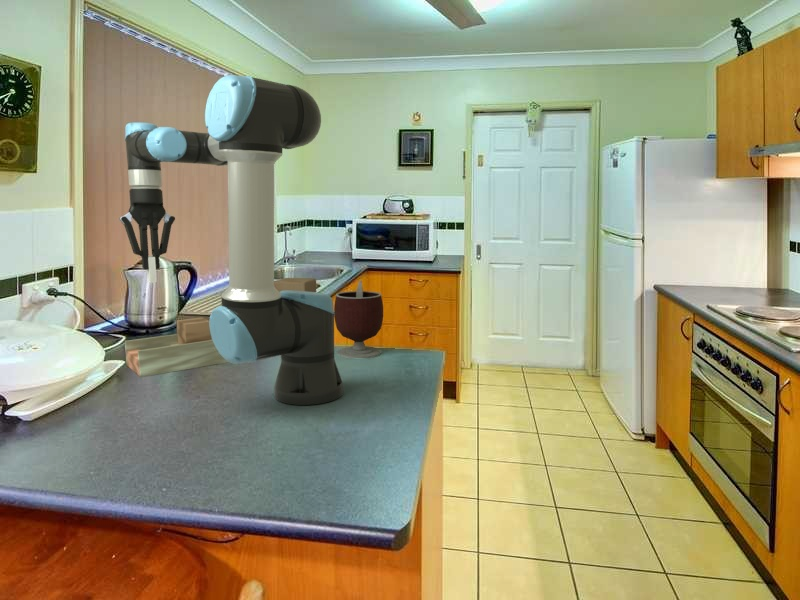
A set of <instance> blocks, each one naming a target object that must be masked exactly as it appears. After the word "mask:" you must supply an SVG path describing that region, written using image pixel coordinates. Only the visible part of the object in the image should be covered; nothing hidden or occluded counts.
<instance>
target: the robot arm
mask: <svg viewBox="0 0 800 600" xmlns="http://www.w3.org/2000/svg"><path fill="white" fill-rule="evenodd" d="M204 123H205V127H206V129H207V132H197V131H196V132H195V131H188V130H181V129H180V130H179V129H177V128H174V127H171V126H159V127H158V126H157V125H156V124H155V123H152V122H151V123H150V122H140V121H139V122H138V121H137V122H136V121H135V122H129V123H127V124H126V125H125V131H124V133H125V135H124V141H125V148H126V150H125V151H126V161H127V171H128V172H127V173H128V185H129V187H131V188H130V189H129V204H130V206H129V209H128V212H127V213H126V214H124V215H123V216H120V217H119V221H120V222H121V224H122V225H123V226H124V228H125V232H126V235H127V238H128V241H129V244H130V246H131V249H132V252H133V254H134V255H135V256H136V255H137V256H140V257H141V266H142V270H145V271H146V276H147V278H146V279H147V280H146V281H147V282H146V283H149V284H155V283H157V270H160V267H161V265H160V263H161V262H160V256H161V255H165V254H167V251H168V246H169V241H170V235H171V230H172V229H171V228H172V226H173V223H174V222H175V221H176V217H175V216H173V215H170V214H168V213H167V212H166V209H165V207H164V198H163V197H164V196H163V195H164V194H163V190H162V189H161V187H162V186H163V182H162V166H161V163H177V164H178V163H180V164H200V165H211V166H212V165H213V166H217V167H221V166H222V167H223V166H227V197H228V198H227V207H228V208H227V211H228V212H227V215H228V219H227V220H228V221H227V222H228V276H229V277H228V283H229V284H228V287H227V288H226V290H224V291H223V292H222V293H221V305H219V306H217V307H215V308H213V309H212V311H211V314H210V316H209V319H208V320H209V326H210V333H211V337H212V340H213V343H214V345H215V347H216V348H217V350H218V352H219V353H220V355H221V356H222V357H223V358H224V359H225V360H227V361H228V362H227V363H231V364H234V365H240V364H245V363H249V364H251V363H255V362H257V361H261V360H265V359H269V358H275V357H278V356H280V364H279V365H280V366H279V368H278V372H277V375H276V378H275V382H274V385H273V397H274V398H275V399H276V400H277V401H278V402H281V403H284V404H289V405H293V406H294V405H299V406H307V405H308V406H310V405H320V404H325V403H329V402H333V401H335V400H337V399H339V398H340V397H341V396H343V394H344V386H343V385H344V384H343V380H342V378H341V375H340V372H339V369H338V366H337V362H336V359H335V317H334V315H335V313H334V300H333V298H332V297H331V295H329V294H327V293H323V292H317V291H316V292H307V291H290V290H285V291H280V292H279V291H278V290H277V289H276V288H275V287H274V281H275V164H276V162H277V161H278V160H279V159H280V158H281V157H282V156H283V149H285V150H292V149H296V148H301V147H304V146H307V145H308V144H310V143H311V142H312V141H314V140H315V138H316V137H317V135H318V134H319V132H320V129H321V124H322V114H321V111H320V107H319V105H318V103H317V101H316V100H315V99H314V97H313V96H312V95H311V94H310V93H309V92H308V91H306V90H304V89H303V88H301V87H299V86H296V85H291V84H286V83H285V84H284V83H280V82H277V81H272V80H266V79H262V78H257V77H253V76H249V75H248V76H247V75H235V74H229V75H228V74H227V75H225V76H222V77H220V78H219V79H218V80H217V81H216V83H214V85H213V87H212V88H211V90H210V92H209V94H208V97H207V99H206V105H205V111H204ZM132 219H133V220H134V221H135V223H136V224H137V225H138V230H139V242H138V239H137V236H136V233H135V231H134V227H133V225H132V221H133V220H132ZM162 220H163V222H164V223H163V226H162V227H163V228H162V231H161V232H162V233H161V238H160V241H159V224H160V223H161V221H162ZM148 227H149V230H150V234H149V235H150V246H151V247H150V249H151V255H150V254H149V241H148V240H149V239H148V238H149V237H148ZM159 242H160V243H159ZM149 255H150V256H149Z"/></svg>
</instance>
